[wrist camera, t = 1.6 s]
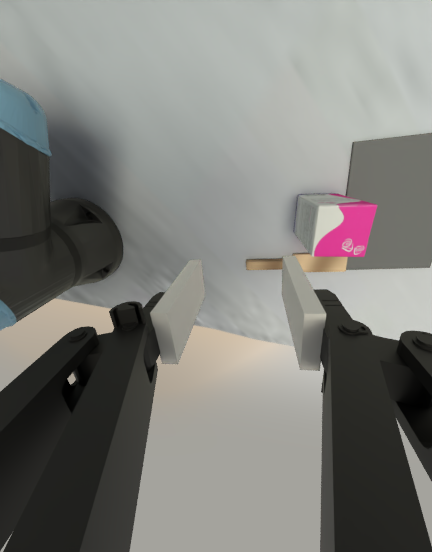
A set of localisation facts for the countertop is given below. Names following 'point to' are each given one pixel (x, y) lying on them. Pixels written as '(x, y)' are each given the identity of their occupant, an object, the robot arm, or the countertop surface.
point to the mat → (394, 200)
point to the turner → (302, 263)
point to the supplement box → (333, 224)
